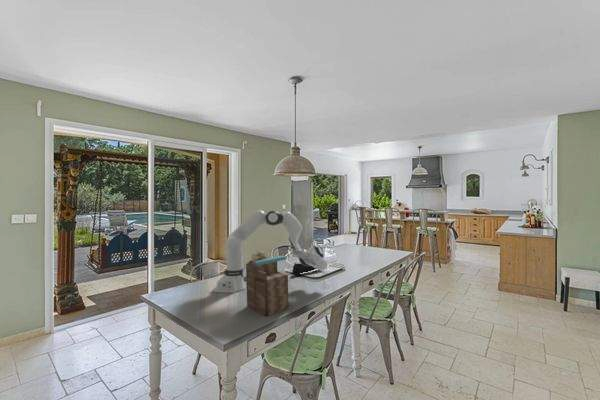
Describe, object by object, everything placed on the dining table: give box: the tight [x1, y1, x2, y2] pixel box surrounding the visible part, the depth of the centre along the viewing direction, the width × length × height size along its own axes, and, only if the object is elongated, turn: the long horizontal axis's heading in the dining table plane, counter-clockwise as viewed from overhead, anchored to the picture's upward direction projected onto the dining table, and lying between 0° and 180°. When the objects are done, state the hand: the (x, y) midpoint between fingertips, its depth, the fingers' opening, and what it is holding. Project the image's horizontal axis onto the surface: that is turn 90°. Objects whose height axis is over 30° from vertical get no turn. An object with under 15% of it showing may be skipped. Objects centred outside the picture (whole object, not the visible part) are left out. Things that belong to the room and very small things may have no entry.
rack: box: [245, 250, 290, 317], centre depth 171 cm, size 16×20×32 cm
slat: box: [254, 255, 287, 266], centre depth 176 cm, size 22×4×2 cm, turn 132°
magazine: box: [291, 262, 316, 276], centre depth 243 cm, size 17×3×30 cm
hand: (297, 251), depth 190 cm, fingers open, 8 cm apart
